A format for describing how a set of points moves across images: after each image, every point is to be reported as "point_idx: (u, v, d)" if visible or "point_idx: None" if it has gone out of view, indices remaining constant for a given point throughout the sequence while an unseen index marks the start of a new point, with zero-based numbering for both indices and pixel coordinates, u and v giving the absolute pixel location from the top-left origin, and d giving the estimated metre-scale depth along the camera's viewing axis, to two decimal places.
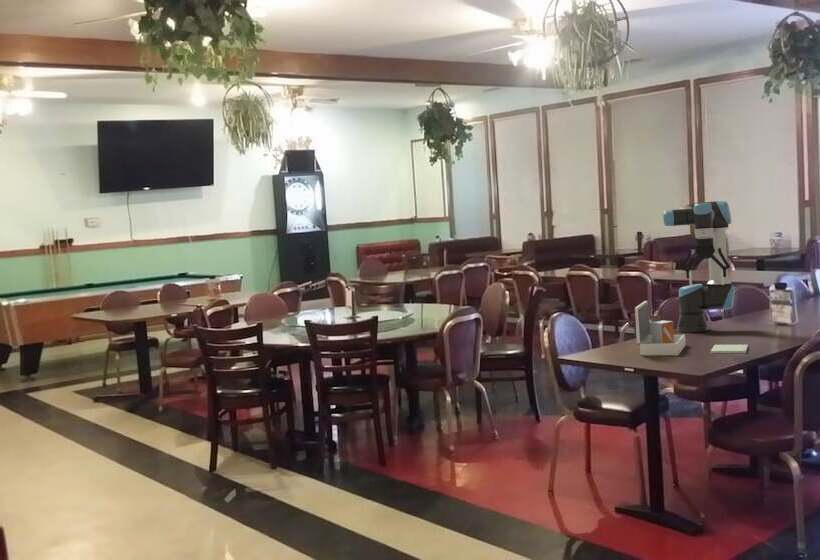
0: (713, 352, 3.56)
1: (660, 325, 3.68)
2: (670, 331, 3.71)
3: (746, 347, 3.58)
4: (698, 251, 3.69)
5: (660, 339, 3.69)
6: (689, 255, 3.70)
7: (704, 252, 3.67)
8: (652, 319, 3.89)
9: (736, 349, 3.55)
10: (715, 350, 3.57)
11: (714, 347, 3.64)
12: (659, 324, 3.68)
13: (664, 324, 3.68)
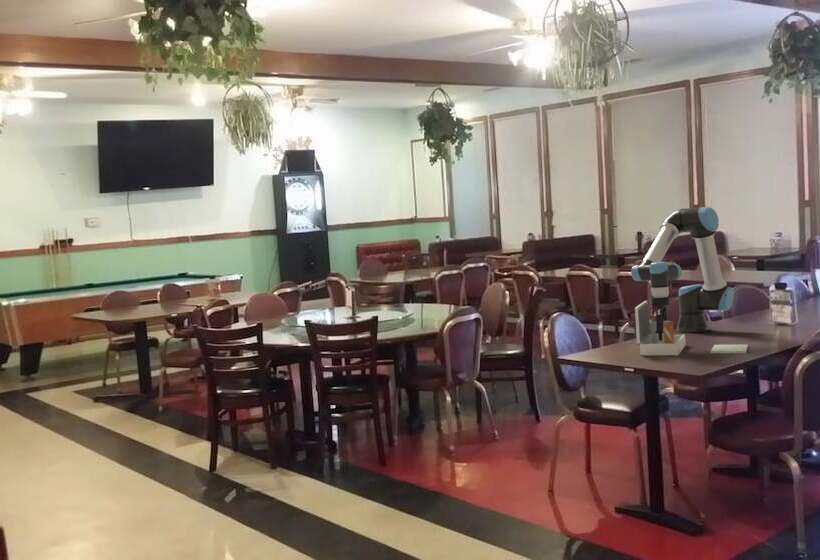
0: (713, 352, 3.56)
1: None
2: (670, 331, 3.71)
3: (746, 347, 3.58)
4: None
5: None
6: None
7: None
8: (652, 319, 3.89)
9: (736, 349, 3.55)
10: (715, 350, 3.57)
11: (714, 347, 3.64)
12: None
13: (665, 324, 3.68)
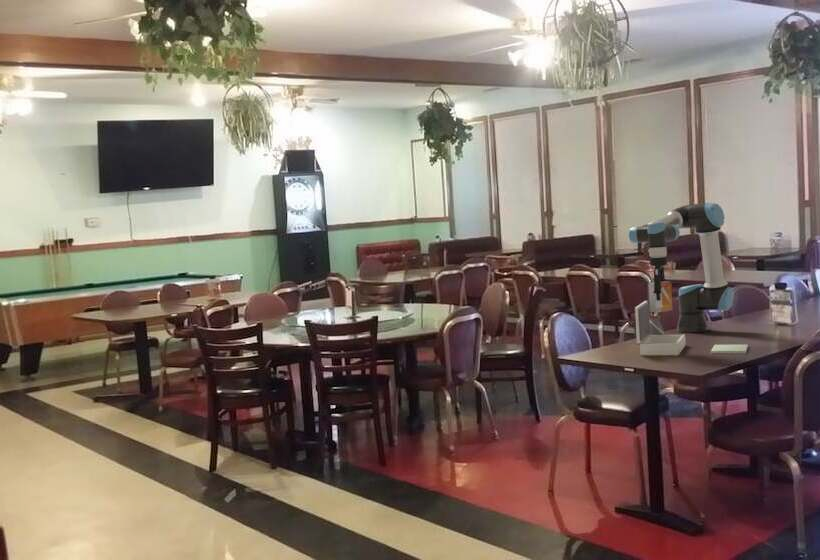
0: (713, 352, 3.56)
1: None
2: (668, 292, 3.70)
3: (746, 347, 3.58)
4: None
5: None
6: None
7: None
8: (652, 319, 3.89)
9: (736, 349, 3.55)
10: (715, 350, 3.57)
11: (714, 347, 3.64)
12: None
13: (662, 284, 3.67)
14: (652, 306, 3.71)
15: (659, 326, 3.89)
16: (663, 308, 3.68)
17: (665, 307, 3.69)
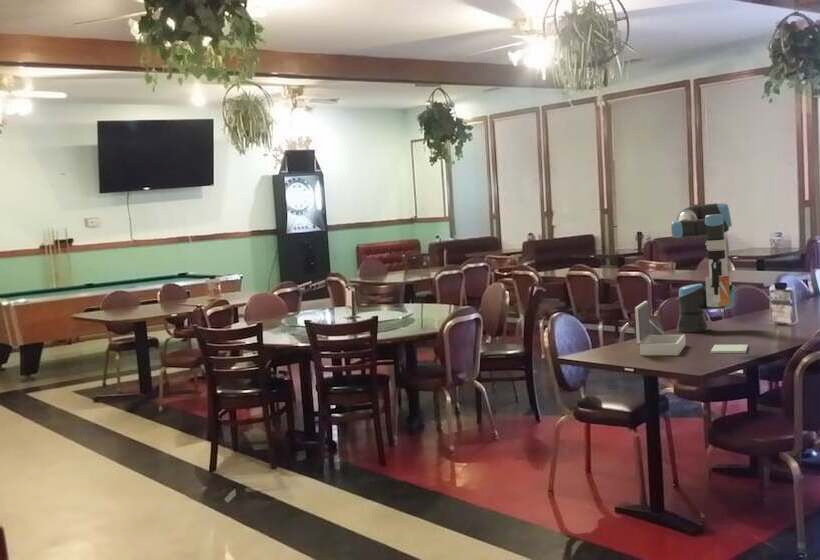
0: (713, 352, 3.56)
1: None
2: (726, 286, 3.59)
3: (746, 347, 3.58)
4: None
5: None
6: None
7: None
8: (652, 319, 3.89)
9: (736, 349, 3.55)
10: (715, 350, 3.57)
11: (714, 347, 3.64)
12: None
13: (720, 278, 3.56)
14: (709, 301, 3.60)
15: (659, 326, 3.89)
16: (721, 303, 3.57)
17: (723, 302, 3.58)
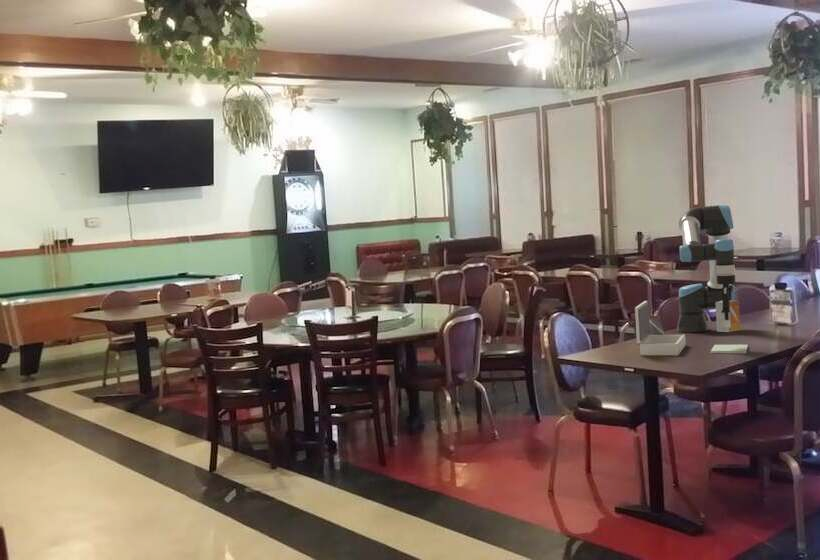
0: (713, 352, 3.56)
1: None
2: (736, 311, 3.58)
3: (746, 347, 3.58)
4: None
5: None
6: None
7: (723, 289, 3.59)
8: (652, 319, 3.89)
9: (736, 349, 3.55)
10: (715, 350, 3.57)
11: (714, 347, 3.64)
12: None
13: (730, 303, 3.56)
14: (719, 326, 3.59)
15: (659, 326, 3.89)
16: (731, 328, 3.56)
17: (733, 327, 3.57)
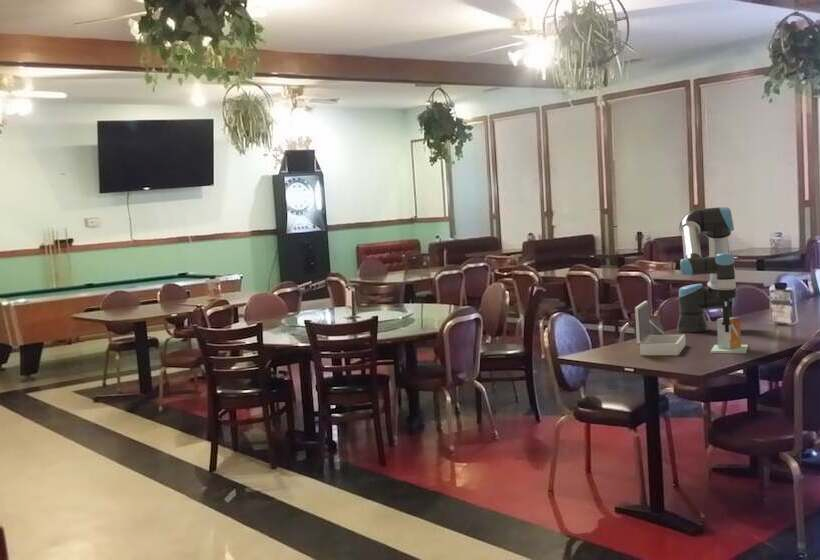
0: (713, 352, 3.56)
1: None
2: (737, 328, 3.59)
3: (746, 347, 3.58)
4: None
5: None
6: None
7: None
8: (652, 319, 3.89)
9: (736, 349, 3.55)
10: (715, 350, 3.57)
11: (714, 347, 3.64)
12: None
13: (732, 320, 3.57)
14: (720, 342, 3.60)
15: (659, 326, 3.89)
16: (733, 345, 3.58)
17: (734, 344, 3.58)
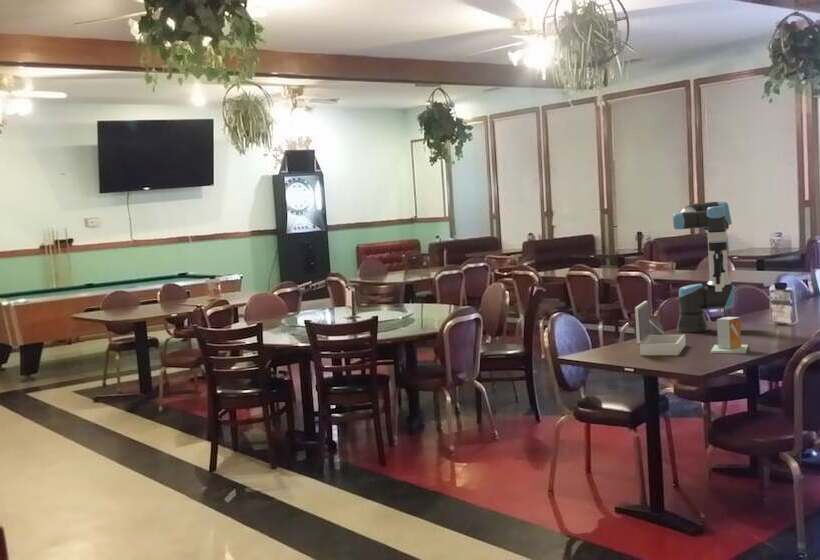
0: (713, 352, 3.56)
1: (727, 321, 3.56)
2: (737, 328, 3.59)
3: (746, 347, 3.58)
4: None
5: (727, 336, 3.57)
6: None
7: None
8: (652, 319, 3.89)
9: (736, 349, 3.55)
10: (715, 350, 3.57)
11: (714, 347, 3.64)
12: (726, 320, 3.57)
13: (732, 320, 3.57)
14: (720, 342, 3.60)
15: (659, 326, 3.89)
16: (733, 345, 3.58)
17: (734, 344, 3.58)
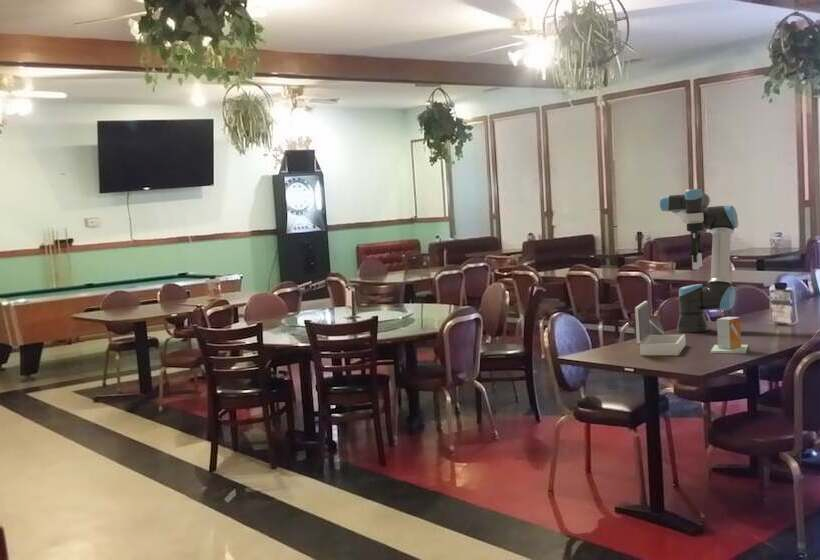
0: (713, 352, 3.56)
1: (727, 321, 3.56)
2: (737, 328, 3.59)
3: (746, 347, 3.58)
4: None
5: (727, 336, 3.57)
6: None
7: None
8: (652, 319, 3.89)
9: (736, 349, 3.55)
10: (715, 350, 3.57)
11: (714, 347, 3.64)
12: (726, 320, 3.57)
13: (732, 320, 3.57)
14: (720, 342, 3.60)
15: (659, 326, 3.89)
16: (733, 345, 3.58)
17: (734, 344, 3.58)
